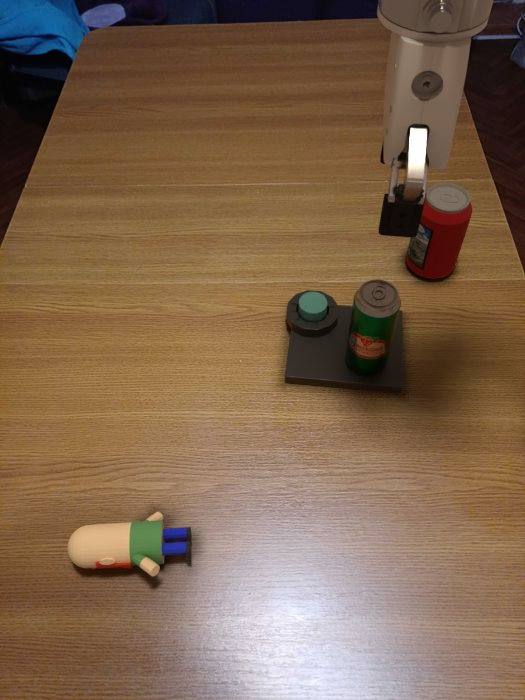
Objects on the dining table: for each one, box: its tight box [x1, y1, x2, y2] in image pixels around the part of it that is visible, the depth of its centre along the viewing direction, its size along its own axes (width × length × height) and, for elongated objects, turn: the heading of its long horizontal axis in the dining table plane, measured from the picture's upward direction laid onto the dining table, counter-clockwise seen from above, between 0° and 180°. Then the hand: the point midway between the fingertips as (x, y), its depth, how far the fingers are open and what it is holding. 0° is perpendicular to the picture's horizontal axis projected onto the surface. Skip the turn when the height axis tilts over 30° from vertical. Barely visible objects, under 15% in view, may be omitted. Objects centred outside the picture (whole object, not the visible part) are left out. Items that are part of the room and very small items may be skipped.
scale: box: [284, 289, 404, 395], centre depth 77 cm, size 15×13×3 cm
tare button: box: [298, 292, 328, 322], centre depth 77 cm, size 4×4×2 cm
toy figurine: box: [66, 511, 193, 577], centre depth 61 cm, size 8×4×12 cm
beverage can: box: [405, 182, 473, 279], centre depth 81 cm, size 7×7×12 cm
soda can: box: [345, 279, 402, 375], centre depth 70 cm, size 5×5×12 cm
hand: (397, 196), depth 55 cm, fingers open, 9 cm apart
